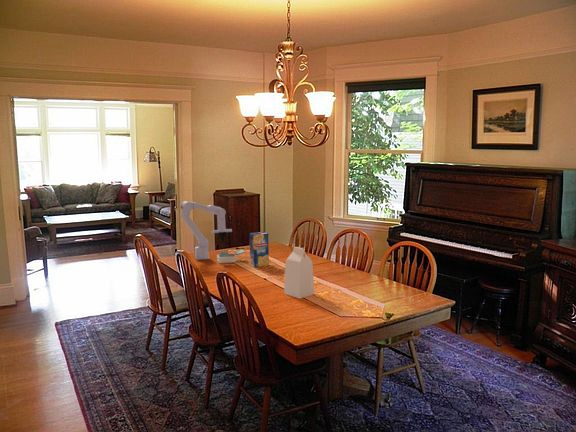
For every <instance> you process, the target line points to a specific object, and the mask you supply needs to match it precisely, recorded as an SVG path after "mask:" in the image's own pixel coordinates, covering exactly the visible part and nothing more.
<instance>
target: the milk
mask: <svg viewBox="0 0 576 432" xmlns="http://www.w3.org/2000/svg"><path fill="white" fill-rule="evenodd" d="M313 265H314V264H313V261H312V259H311V258H310V257H309V256H308V255H307V254H306V252H305V248H304V247H299V246H294V247H293V249H292V252H290V254H289V255H288V257H287V258H286V260H285V264H284V283H283V284H284V285H283V286H284V288H283V289H284V290H283V291H284V292H283V294H284V295H286V296H290V297H293V298H297V299H303V298H306V297H308V296H312V295H314V294H315V285H314V283H315V282H314V281H315V280H314V270H313V269H314V266H313Z"/></svg>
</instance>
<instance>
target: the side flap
mask: <svg viewBox="0 0 576 432" xmlns="http://www.w3.org/2000/svg"><path fill="white" fill-rule="evenodd" d="M233 254H234V255H235V256H240V255H243V254H245V251H244V250H243V249H238V250H236V251H234V253H233Z"/></svg>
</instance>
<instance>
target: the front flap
mask: <svg viewBox="0 0 576 432" xmlns="http://www.w3.org/2000/svg"><path fill="white" fill-rule="evenodd" d="M228 254H229V251H228V250H227V251H225V250H224V251H219V254H218V255H219V257H227V256H228Z"/></svg>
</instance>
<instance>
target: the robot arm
mask: <svg viewBox="0 0 576 432" xmlns="http://www.w3.org/2000/svg"><path fill="white" fill-rule="evenodd" d="M179 207H180V215H181V216H180V217H181V218H182V220H183V221H184V223H185V225H187V227H188V228H189V229H190V231H191V232H192V234H193V235H194V236H195V239H196V241H197V244H198V245H197V246H195V247H194V258H195V260H196V261H199V260H200V261H201V260H210V257H209V243H210V242H209V241H210V240H209V239H208V238H206V237H205V235H203V234H202V232H201V231H200V229H199V228H198V227H197V225H196V223H194V221H193V219H192V218H191V217H190V215H191V211H192V210H195V209H200V210H205V211H206V212H207V213H209V214H213V215H216V217H217V218H216V219H217V220H216V221H217V229H214V230H211V234H212V235H213V234H218V236H219V238H220V241H221V243H223V244H224V242H225V237H226V234H227V233H232V232H233V229H232V228H227V226H226V213H227V211H226V209H225V208H222V207H221V206H217V205H214V204H209V205H205V204H202V203H199V202H195V201H188V200H184V201H182V202H181V205H180V206H179Z"/></svg>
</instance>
